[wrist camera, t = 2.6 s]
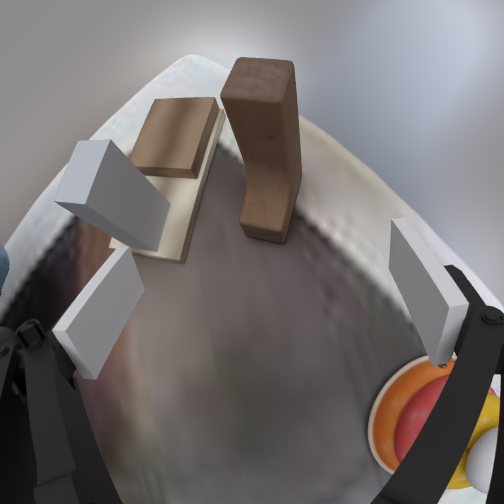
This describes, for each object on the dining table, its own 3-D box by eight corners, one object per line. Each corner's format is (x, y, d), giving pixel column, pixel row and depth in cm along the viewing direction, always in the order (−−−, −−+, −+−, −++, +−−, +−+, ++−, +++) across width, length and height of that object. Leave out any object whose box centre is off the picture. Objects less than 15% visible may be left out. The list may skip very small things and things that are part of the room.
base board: (115, 250, 39) (97, 241, 35) (162, 115, 44) (151, 99, 40) (184, 263, 37) (170, 254, 33) (225, 115, 42) (218, 97, 38)
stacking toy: (496, 378, 27) (614, 387, 8) (438, 485, 25) (516, 564, 6) (404, 332, 31) (507, 316, 12) (339, 449, 28) (369, 552, 10)
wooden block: (284, 245, 35) (263, 156, 18) (245, 236, 36) (193, 147, 19) (302, 174, 37) (294, 59, 20) (266, 167, 38) (236, 54, 21)
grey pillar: (129, 247, 37) (53, 201, 23) (142, 201, 38) (78, 141, 25) (157, 252, 36) (85, 204, 23) (170, 203, 37) (110, 139, 24)
